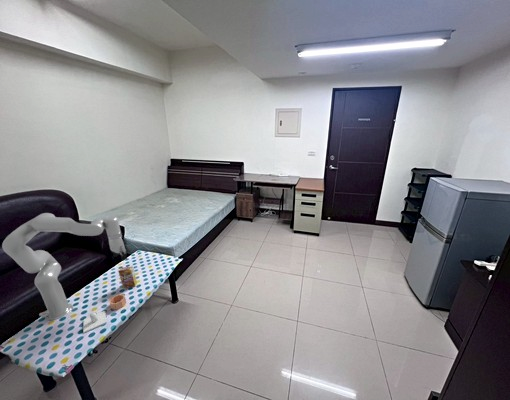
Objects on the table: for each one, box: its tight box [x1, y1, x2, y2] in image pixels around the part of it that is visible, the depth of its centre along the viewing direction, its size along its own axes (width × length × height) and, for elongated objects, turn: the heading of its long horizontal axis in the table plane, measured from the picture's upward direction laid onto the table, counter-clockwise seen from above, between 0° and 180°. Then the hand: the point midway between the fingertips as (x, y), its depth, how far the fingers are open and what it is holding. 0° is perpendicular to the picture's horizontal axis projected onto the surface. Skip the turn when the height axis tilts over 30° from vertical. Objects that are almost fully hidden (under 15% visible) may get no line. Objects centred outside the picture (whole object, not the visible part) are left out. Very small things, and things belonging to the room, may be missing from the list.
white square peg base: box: [83, 310, 108, 334], centre depth 130 cm, size 11×11×6 cm
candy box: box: [118, 266, 138, 289], centre depth 159 cm, size 9×4×15 cm, turn 98°
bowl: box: [108, 293, 127, 311], centre depth 143 cm, size 9×9×5 cm
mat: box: [84, 323, 107, 334], centre depth 131 cm, size 10×12×1 cm
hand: (120, 257), depth 148 cm, fingers open, 9 cm apart
